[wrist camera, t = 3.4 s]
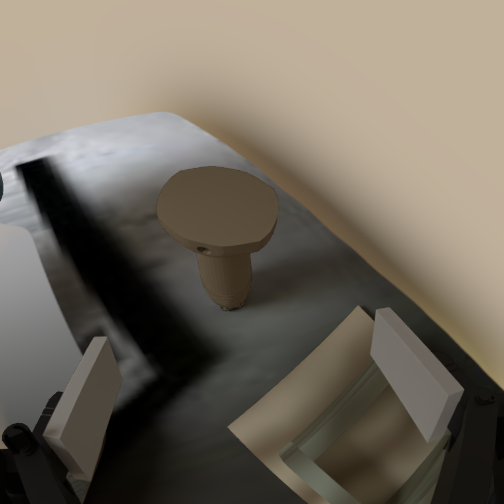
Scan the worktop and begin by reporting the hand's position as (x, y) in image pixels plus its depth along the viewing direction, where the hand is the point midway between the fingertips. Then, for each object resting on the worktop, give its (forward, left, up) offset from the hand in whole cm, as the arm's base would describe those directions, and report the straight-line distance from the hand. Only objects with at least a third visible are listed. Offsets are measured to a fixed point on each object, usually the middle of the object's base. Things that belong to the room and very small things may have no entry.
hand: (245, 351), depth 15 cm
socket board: (+14, +4, -14) cm, 20 cm away
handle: (-6, +4, -14) cm, 16 cm away
